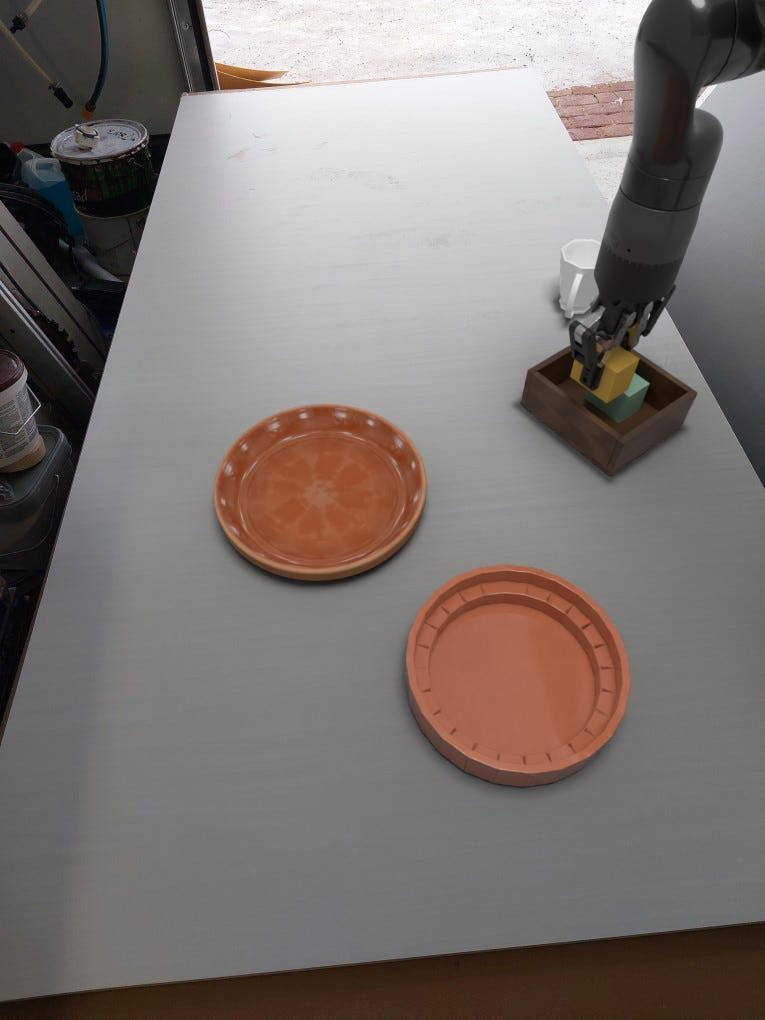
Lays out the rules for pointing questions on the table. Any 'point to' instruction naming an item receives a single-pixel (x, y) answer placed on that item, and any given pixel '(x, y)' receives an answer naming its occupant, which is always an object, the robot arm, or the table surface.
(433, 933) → the table surface
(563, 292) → the cup
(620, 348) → the yellow block
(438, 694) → the bowl
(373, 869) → the table surface
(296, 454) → the saucer
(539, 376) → the holder
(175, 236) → the table surface
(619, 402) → the mint green block
